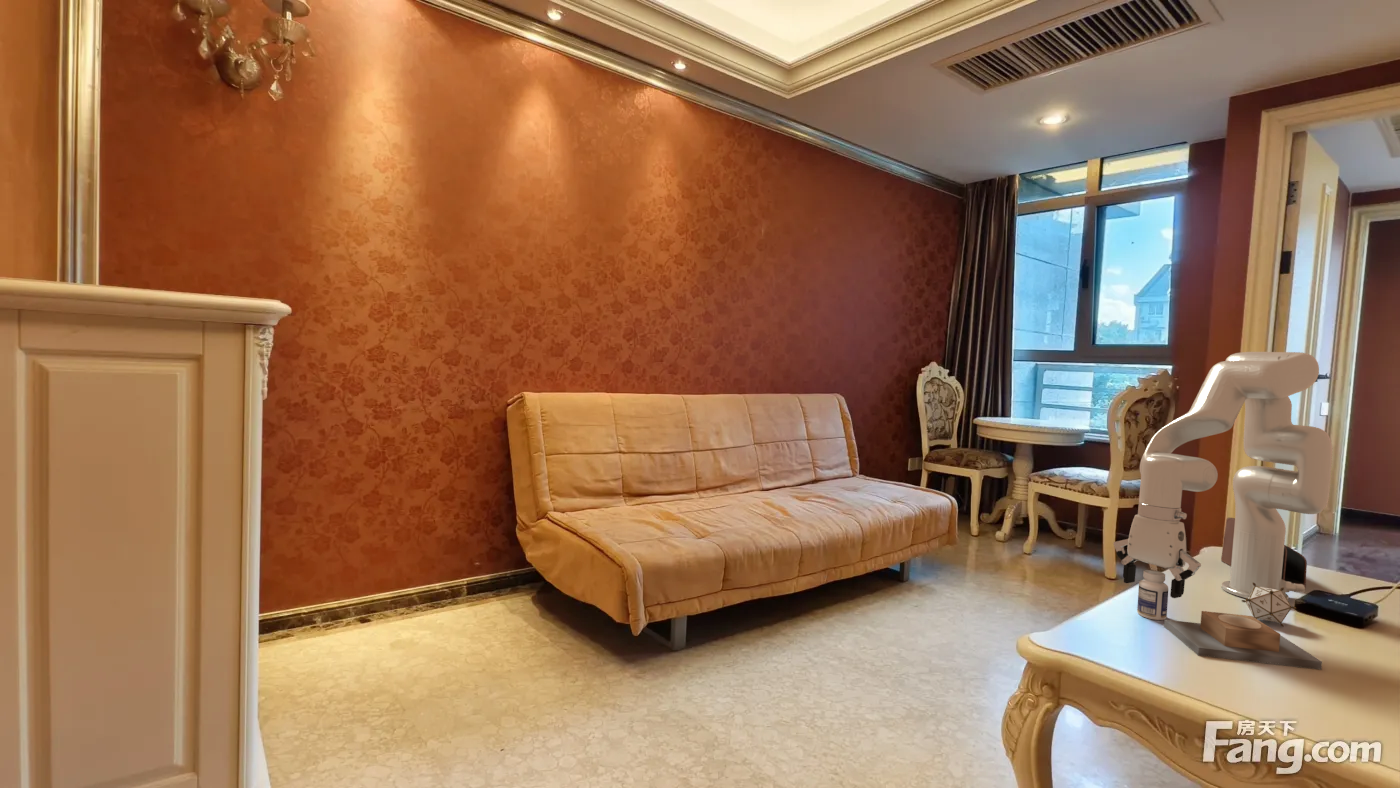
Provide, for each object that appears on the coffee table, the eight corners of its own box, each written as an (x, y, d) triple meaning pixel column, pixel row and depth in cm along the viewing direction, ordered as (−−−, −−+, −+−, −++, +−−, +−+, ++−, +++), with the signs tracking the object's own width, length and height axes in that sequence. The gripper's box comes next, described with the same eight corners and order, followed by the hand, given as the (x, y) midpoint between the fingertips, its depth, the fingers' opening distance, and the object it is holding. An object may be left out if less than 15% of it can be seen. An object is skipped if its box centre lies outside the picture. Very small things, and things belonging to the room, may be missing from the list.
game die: (1271, 642, 142) (1280, 615, 137) (1229, 615, 149) (1236, 588, 144) (1299, 620, 144) (1309, 592, 138) (1256, 594, 151) (1264, 566, 145)
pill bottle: (1157, 612, 148) (1160, 569, 147) (1171, 621, 142) (1175, 577, 142) (1131, 610, 148) (1134, 568, 148) (1145, 619, 143) (1148, 575, 142)
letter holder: (1260, 584, 170) (1264, 530, 169) (1220, 561, 189) (1224, 513, 189) (1306, 588, 168) (1311, 534, 167) (1261, 565, 187) (1265, 516, 186)
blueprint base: (1273, 638, 135) (1275, 613, 135) (1321, 669, 122) (1323, 642, 121) (1164, 626, 140) (1165, 602, 139) (1198, 655, 126) (1200, 628, 126)
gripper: (1213, 521, 138) (1205, 601, 139) (1127, 503, 153) (1121, 575, 154) (1193, 523, 135) (1186, 605, 135) (1108, 505, 150) (1102, 578, 151)
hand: (1151, 589), depth 145 cm, fingers open, 9 cm apart
